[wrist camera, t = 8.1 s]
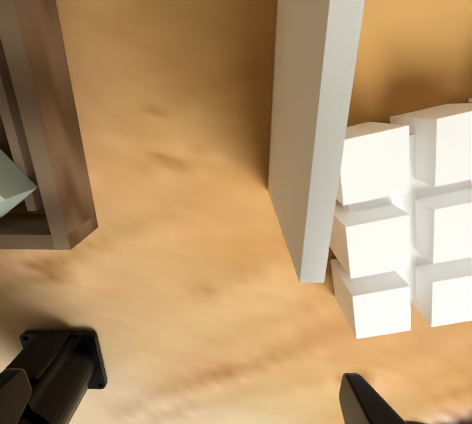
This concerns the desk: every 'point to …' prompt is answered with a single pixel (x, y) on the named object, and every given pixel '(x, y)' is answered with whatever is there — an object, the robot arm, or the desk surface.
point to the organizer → (405, 221)
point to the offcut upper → (12, 184)
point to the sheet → (311, 122)
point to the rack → (41, 130)
